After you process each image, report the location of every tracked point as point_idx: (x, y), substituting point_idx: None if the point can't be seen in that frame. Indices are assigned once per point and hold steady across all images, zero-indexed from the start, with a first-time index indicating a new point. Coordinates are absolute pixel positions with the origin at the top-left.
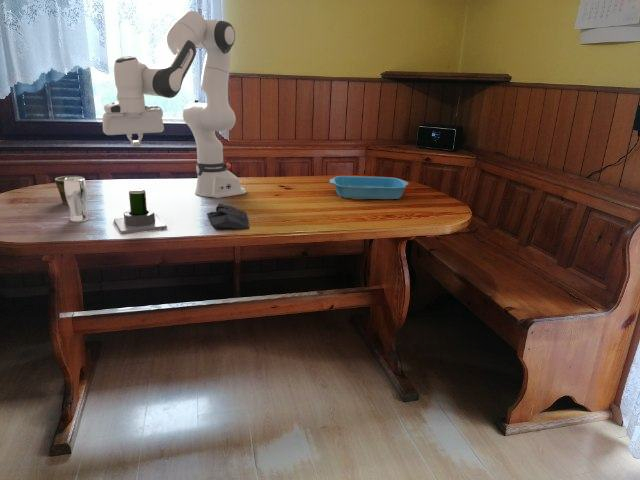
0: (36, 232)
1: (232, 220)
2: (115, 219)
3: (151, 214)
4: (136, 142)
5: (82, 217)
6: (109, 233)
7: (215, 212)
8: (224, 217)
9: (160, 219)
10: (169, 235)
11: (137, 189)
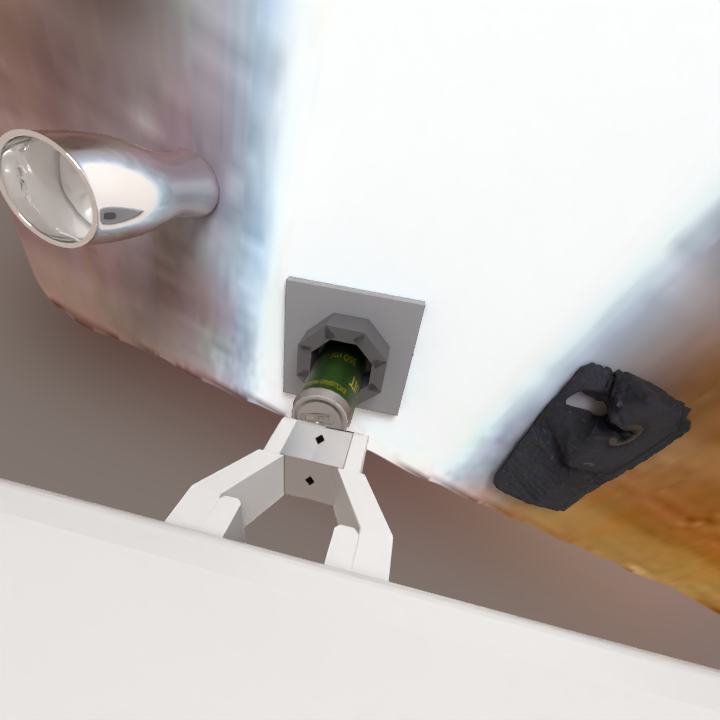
0: (89, 256)
1: (545, 501)
2: (289, 290)
3: (367, 399)
4: (315, 490)
5: (193, 216)
6: (262, 364)
7: (567, 435)
8: (545, 482)
9: (408, 362)
10: (381, 447)
11: (320, 421)
